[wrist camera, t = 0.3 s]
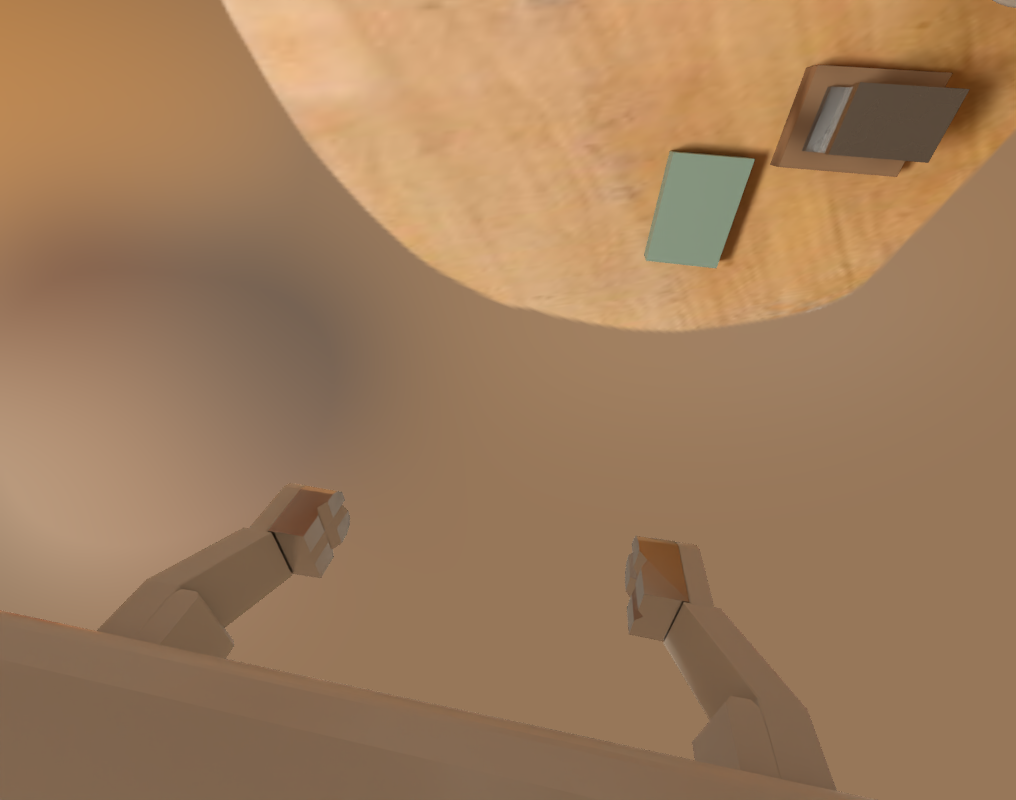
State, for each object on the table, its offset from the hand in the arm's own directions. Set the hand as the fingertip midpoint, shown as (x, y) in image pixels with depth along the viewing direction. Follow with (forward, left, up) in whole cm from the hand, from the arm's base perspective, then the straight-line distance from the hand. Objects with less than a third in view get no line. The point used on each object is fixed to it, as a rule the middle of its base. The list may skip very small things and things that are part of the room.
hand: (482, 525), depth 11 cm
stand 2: (-11, +26, -47) cm, 55 cm away
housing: (-11, +26, -44) cm, 52 cm away
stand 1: (-2, +14, -47) cm, 49 cm away
